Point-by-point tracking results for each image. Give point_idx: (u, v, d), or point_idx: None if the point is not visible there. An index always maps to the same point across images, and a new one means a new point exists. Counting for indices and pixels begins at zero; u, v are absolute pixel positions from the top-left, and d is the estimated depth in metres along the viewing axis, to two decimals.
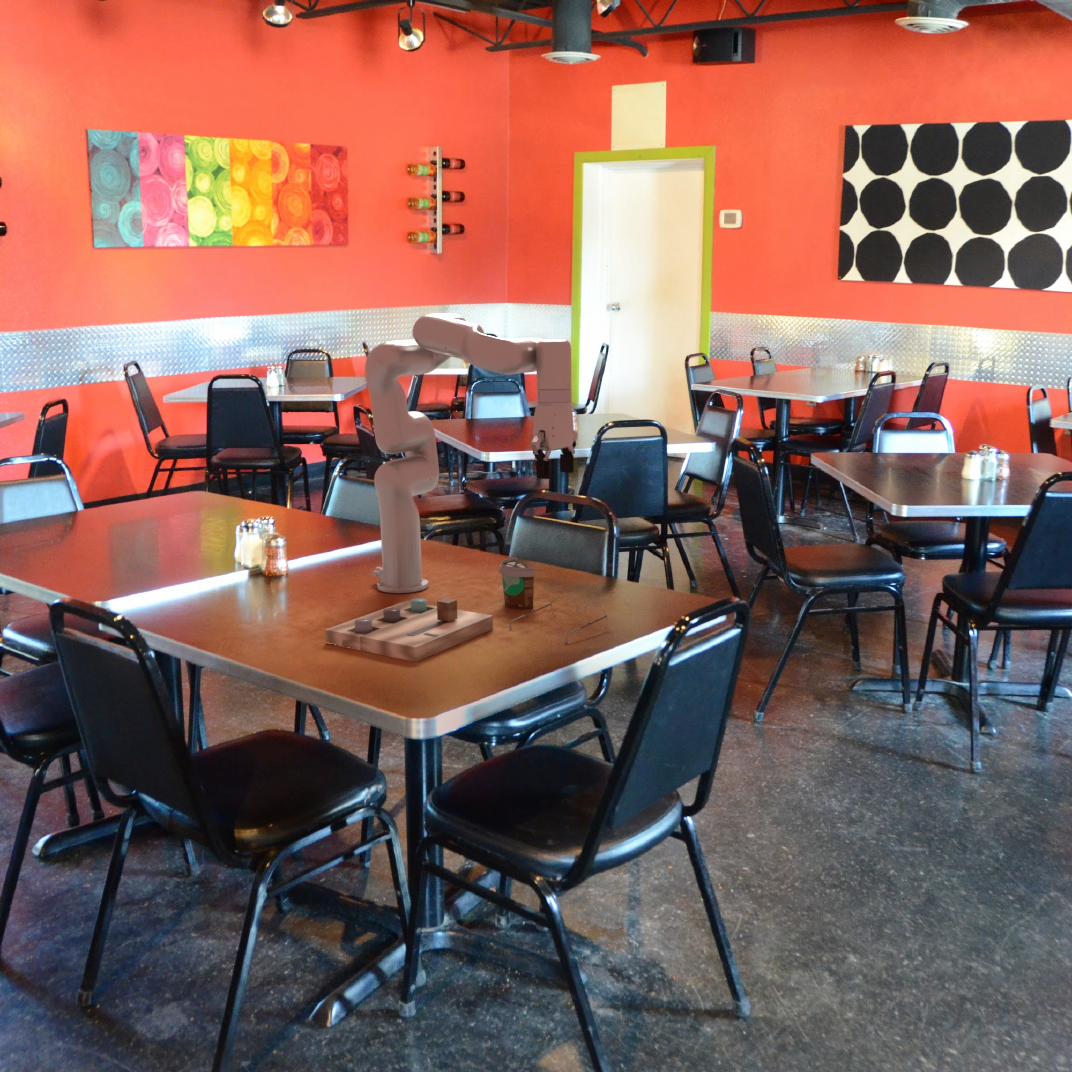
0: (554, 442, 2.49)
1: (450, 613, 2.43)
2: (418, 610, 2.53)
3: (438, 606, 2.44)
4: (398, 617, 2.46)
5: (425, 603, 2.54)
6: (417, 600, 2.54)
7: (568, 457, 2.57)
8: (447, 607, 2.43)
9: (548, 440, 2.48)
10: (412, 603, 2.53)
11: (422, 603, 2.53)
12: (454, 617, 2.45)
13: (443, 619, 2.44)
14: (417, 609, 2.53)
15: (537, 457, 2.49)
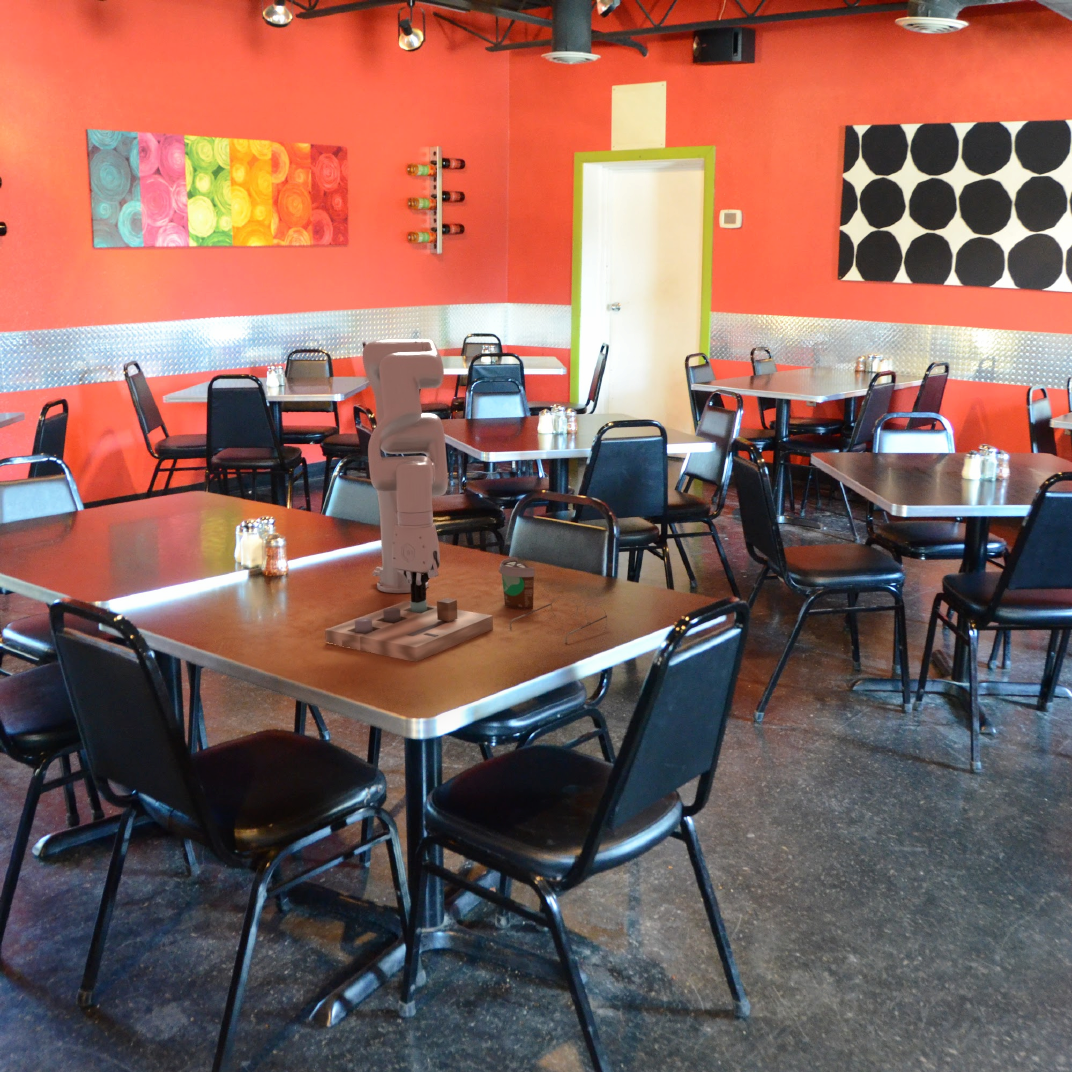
0: None
1: (450, 613, 2.43)
2: (418, 610, 2.53)
3: (438, 606, 2.44)
4: (398, 617, 2.46)
5: (425, 603, 2.54)
6: None
7: None
8: (447, 607, 2.43)
9: (439, 559, 2.51)
10: (412, 603, 2.53)
11: (422, 603, 2.53)
12: (454, 617, 2.45)
13: (443, 619, 2.44)
14: (417, 609, 2.53)
15: (424, 581, 2.52)
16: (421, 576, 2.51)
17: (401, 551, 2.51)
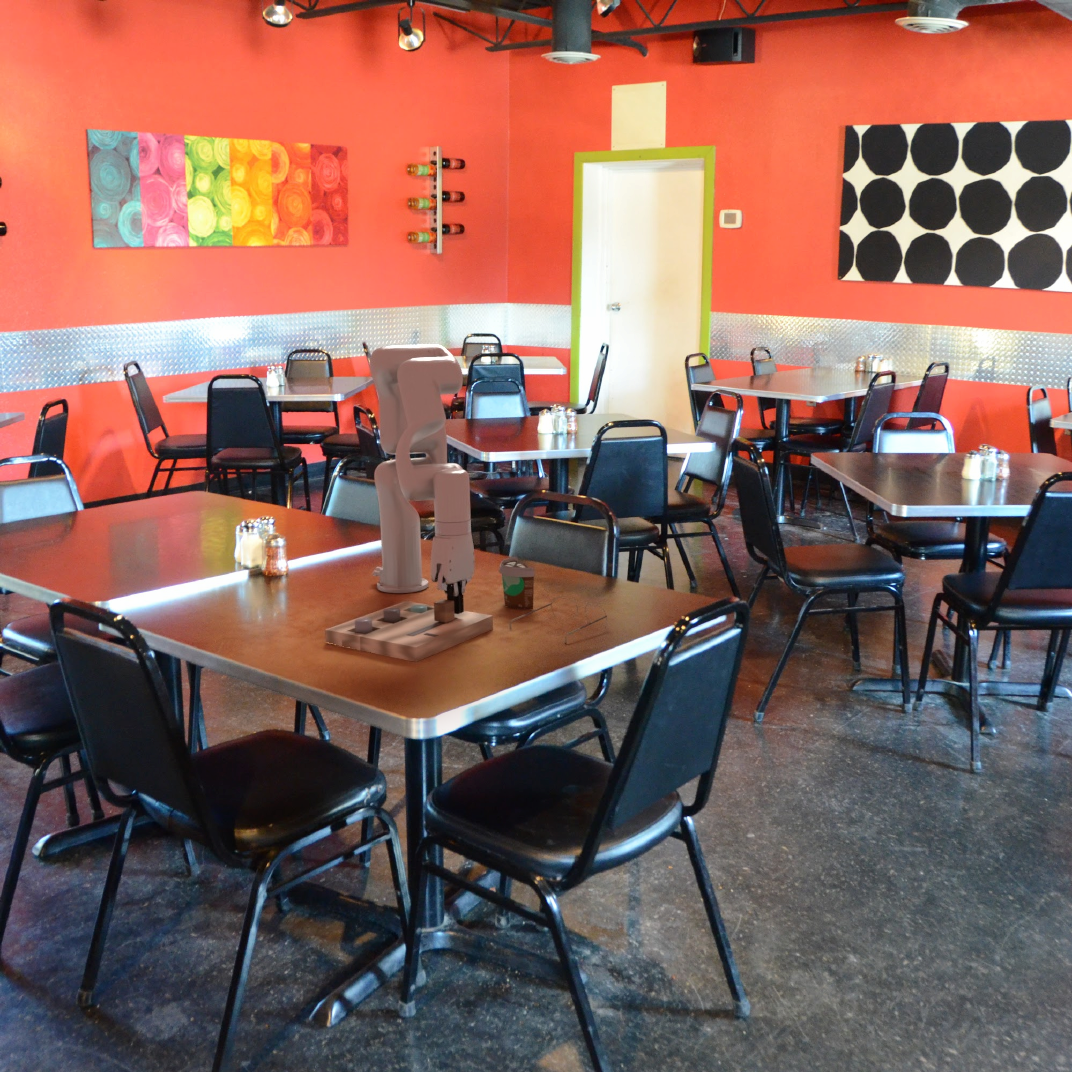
0: (452, 575, 2.42)
1: (447, 614, 2.43)
2: None
3: (435, 607, 2.43)
4: (398, 617, 2.46)
5: (425, 610, 2.54)
6: (417, 607, 2.55)
7: None
8: (444, 608, 2.42)
9: (445, 574, 2.41)
10: (412, 610, 2.53)
11: (422, 610, 2.53)
12: (451, 618, 2.44)
13: (440, 620, 2.43)
14: None
15: (447, 592, 2.45)
16: None
17: None
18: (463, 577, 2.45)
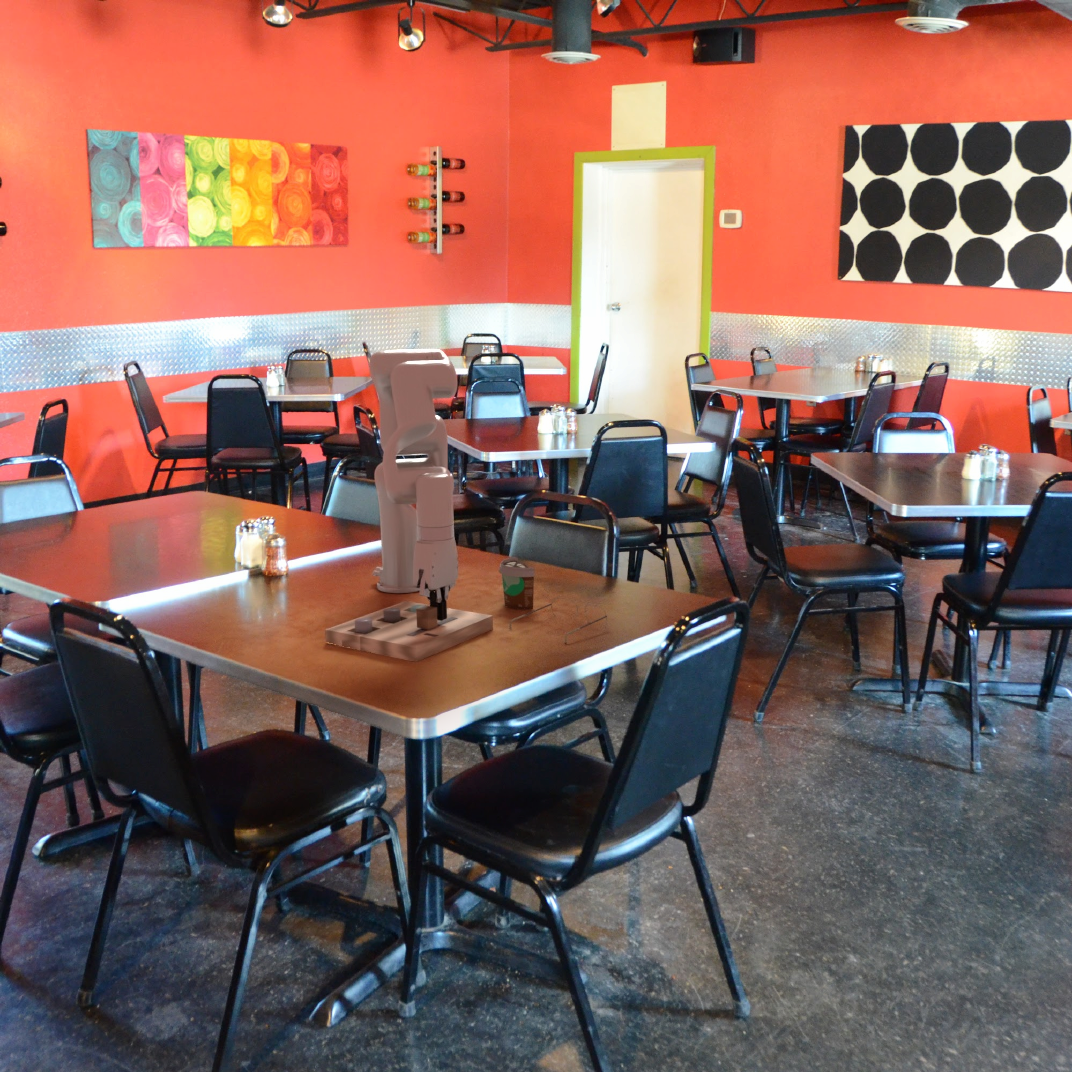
0: (434, 581, 2.37)
1: (429, 621, 2.38)
2: None
3: (417, 614, 2.39)
4: (398, 617, 2.46)
5: None
6: (417, 607, 2.55)
7: None
8: (427, 615, 2.37)
9: (428, 580, 2.36)
10: (412, 610, 2.53)
11: None
12: (434, 625, 2.39)
13: (423, 627, 2.39)
14: None
15: (430, 599, 2.40)
16: None
17: None
18: (446, 583, 2.40)
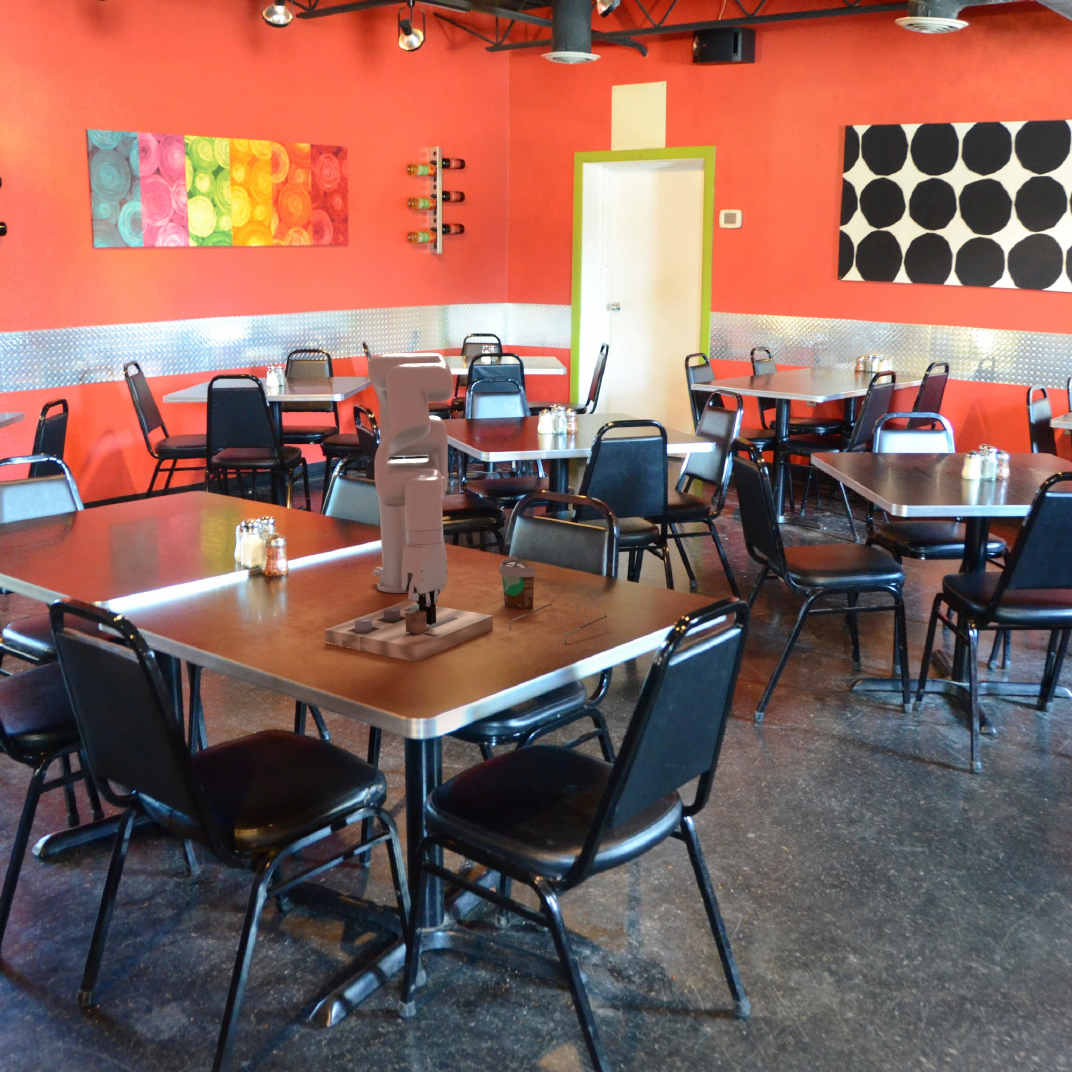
0: (423, 586, 2.34)
1: (418, 625, 2.35)
2: None
3: (406, 618, 2.36)
4: (398, 617, 2.46)
5: None
6: (417, 607, 2.55)
7: None
8: (416, 619, 2.34)
9: (416, 584, 2.33)
10: None
11: None
12: (423, 629, 2.37)
13: (412, 631, 2.36)
14: None
15: (419, 603, 2.37)
16: None
17: None
18: (435, 587, 2.37)
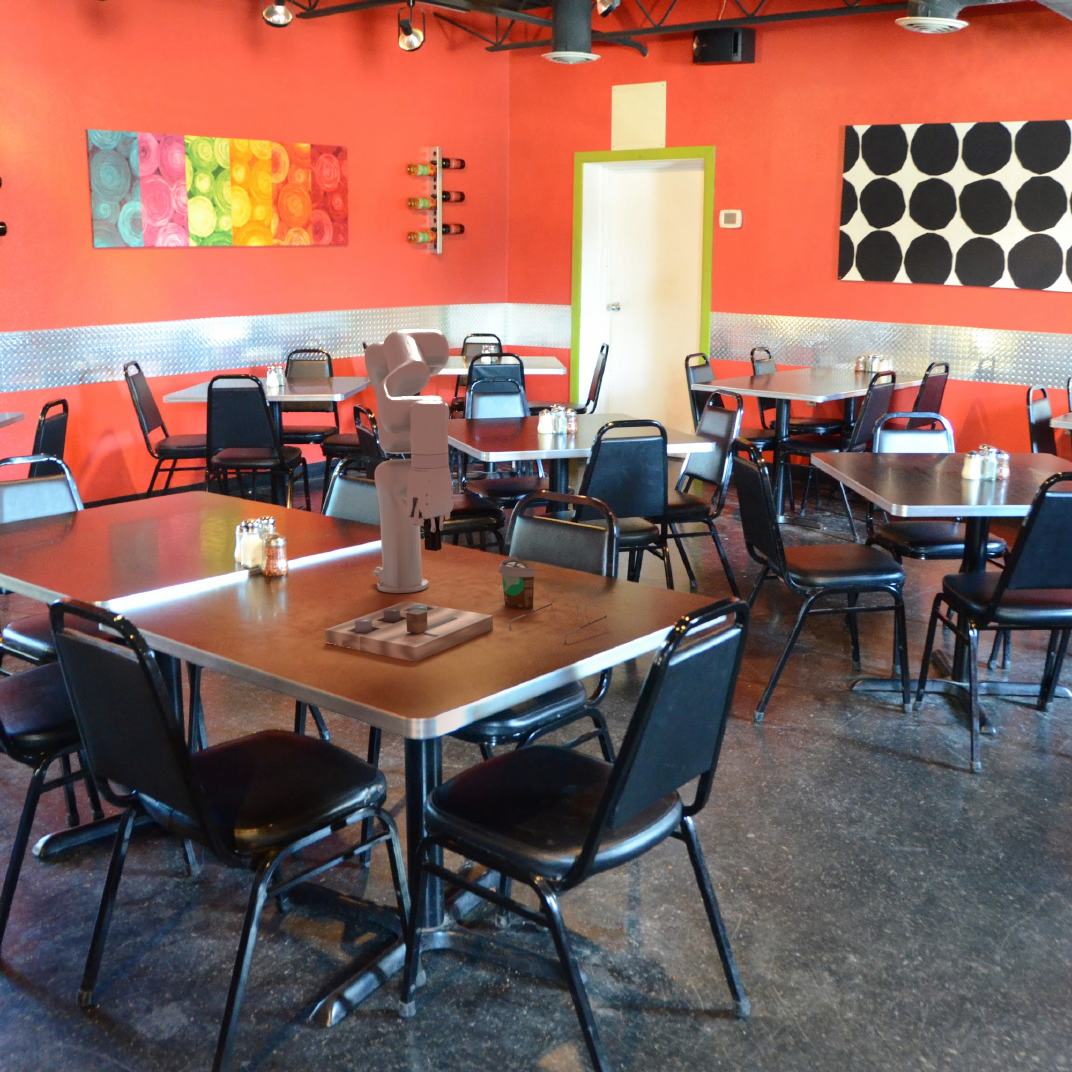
0: (428, 510, 2.34)
1: (419, 625, 2.35)
2: None
3: (407, 617, 2.36)
4: (398, 617, 2.46)
5: (425, 610, 2.54)
6: (417, 607, 2.55)
7: None
8: (417, 619, 2.35)
9: (421, 508, 2.33)
10: None
11: None
12: (424, 629, 2.37)
13: (413, 631, 2.36)
14: None
15: (424, 528, 2.37)
16: None
17: None
18: (441, 513, 2.37)
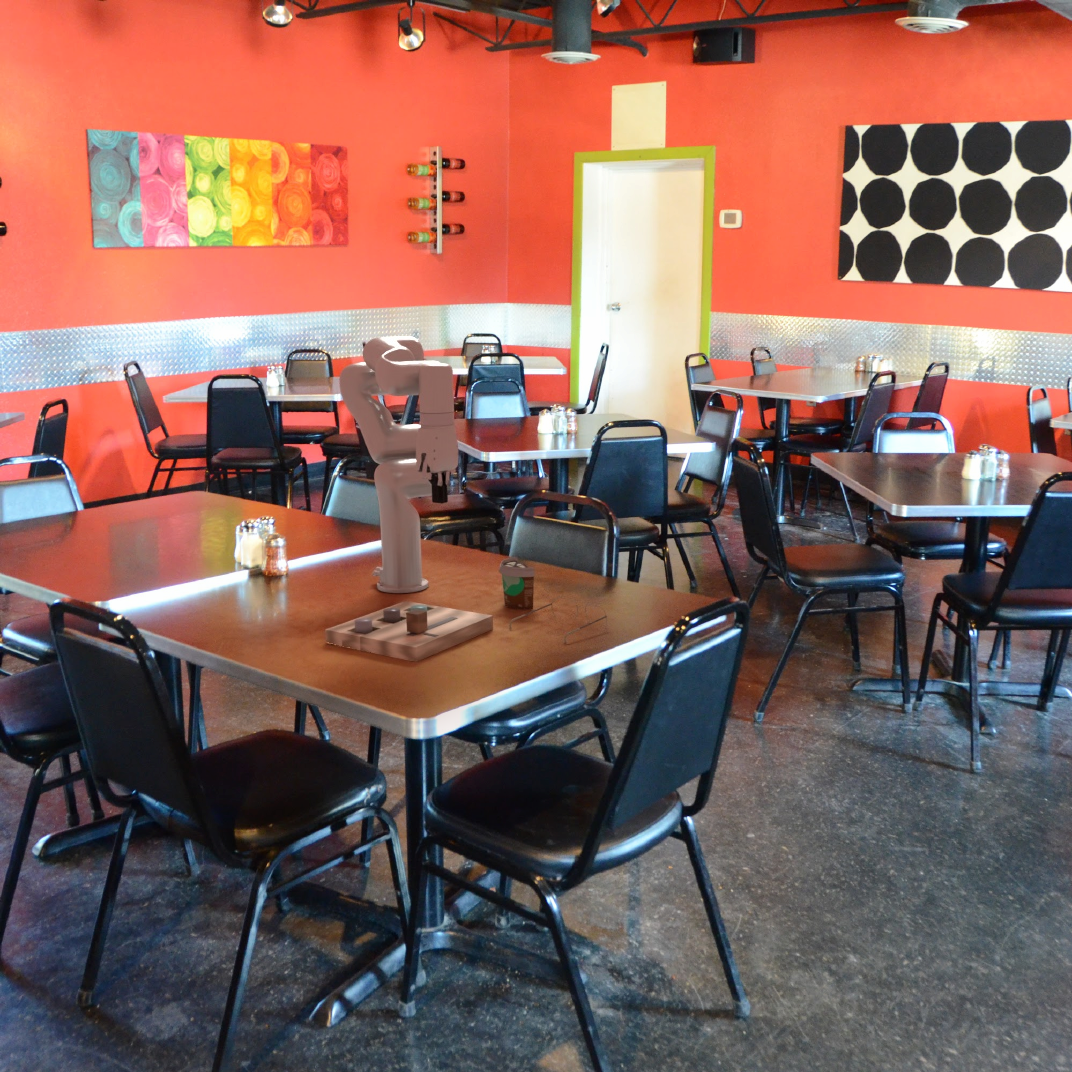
0: (436, 465, 2.53)
1: (419, 625, 2.35)
2: None
3: (407, 617, 2.36)
4: (398, 617, 2.46)
5: (425, 610, 2.54)
6: (417, 607, 2.55)
7: None
8: (417, 619, 2.35)
9: (429, 463, 2.52)
10: None
11: None
12: (424, 629, 2.37)
13: (413, 631, 2.36)
14: None
15: (431, 482, 2.56)
16: None
17: None
18: (447, 468, 2.56)
